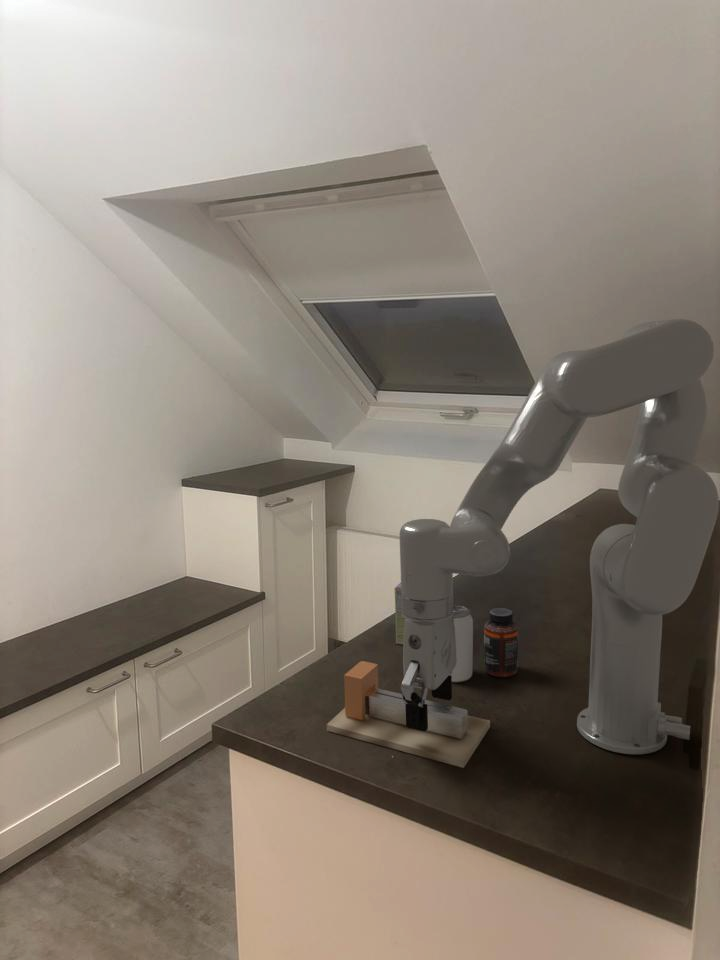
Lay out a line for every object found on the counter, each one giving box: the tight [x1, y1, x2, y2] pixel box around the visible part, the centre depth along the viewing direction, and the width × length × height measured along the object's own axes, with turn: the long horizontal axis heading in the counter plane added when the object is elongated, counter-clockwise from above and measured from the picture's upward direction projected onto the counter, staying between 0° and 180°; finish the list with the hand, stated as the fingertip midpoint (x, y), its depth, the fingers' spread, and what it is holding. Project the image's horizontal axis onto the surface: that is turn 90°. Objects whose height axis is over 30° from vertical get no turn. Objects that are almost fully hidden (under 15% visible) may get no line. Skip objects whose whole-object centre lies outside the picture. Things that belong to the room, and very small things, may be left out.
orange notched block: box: [343, 660, 379, 720], centre depth 108 cm, size 3×6×7 cm, turn 152°
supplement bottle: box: [483, 607, 519, 678], centre depth 122 cm, size 6×6×11 cm
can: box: [449, 605, 474, 683], centre depth 121 cm, size 6×6×12 cm
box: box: [394, 582, 405, 646], centre depth 139 cm, size 10×6×12 cm, turn 159°
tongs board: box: [326, 696, 491, 769], centre depth 105 cm, size 22×12×4 cm, turn 62°
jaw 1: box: [369, 692, 464, 739], centre depth 103 cm, size 15×1×3 cm, turn 62°
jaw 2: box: [374, 687, 468, 735], centre depth 104 cm, size 15×1×3 cm, turn 61°
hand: (429, 712), depth 103 cm, fingers open, 9 cm apart
